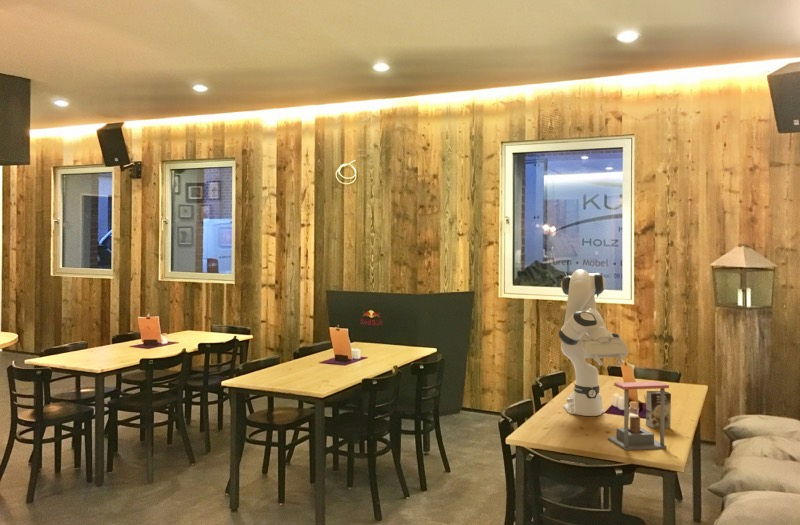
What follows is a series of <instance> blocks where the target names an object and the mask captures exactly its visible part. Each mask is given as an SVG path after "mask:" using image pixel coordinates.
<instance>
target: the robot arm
mask: <svg viewBox="0 0 800 525" xmlns="http://www.w3.org/2000/svg"><path fill="white" fill-rule="evenodd" d="M605 286H606V280H605V277H604V275H603V274H602V273H599V272H594V273H590V272H588V271H587V270H585V269H576V270H575V271H573V272H572V274H571V275H570V274H568V275H565V276H564V277H562V279H561V282H560V287H561V288H560V289H561V291H562V292H563V294H565V295H566V296H567V300H566V307H565V311H564V317H563V322H562V327H561V328H560V329H559V330H558V336H559V339H560V341H561V343H560V350H561V352H562V354H563V355H564V356H565V357H567V358H568V359H569V360H570V362H571V364H572V365H573V368H574V371H575V372H574V373H575V383H574V386H573V387H574V388H573V392H572V393H570V395H568V398H566V402H567V404H563V408H564V409H565V410H566V411H567V412H568V413H569V414H571V415H579V416H586V417H596V416H601V415H602V414H604V413H605V411H606V410H605V409H603V399H602V395H601V394H600V384H599V370H598V368H597V367H595V366H594V365H593V364H590V363H588V362H587V361H586V359H593V360H594V361H595V362H597V364H598V366H603V365H604V362H603V360H602V359H606V358H609V359H610V358H617V359H618V361H617V364H618V365H620V366H623V364H624V361H623V358H626V357H627V356H628V354H629V353H630V352H629V348H628V346H627V344H626V342H625V341H624V340H623V339H622V335H620V334H618V333H614V332H611V331H609V329H607V327H606V324H605V321H604V319H603V316H602V315H601V313H600V312H599V311H598V310H597V302H596V299H595V298H596V297H597V298H598V297H599V295H601V294H602V293H603V292H604V291H605V288H606V287H605ZM595 295H596V297H595ZM585 334H586V335H585Z"/></svg>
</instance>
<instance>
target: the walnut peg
mask: <svg viewBox="0 0 800 525" xmlns="http://www.w3.org/2000/svg"><path fill="white" fill-rule="evenodd" d="M640 427H641V417H640V416H639V415H638V416H637V415H630V416H629V428H630V433H640Z"/></svg>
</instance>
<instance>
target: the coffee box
mask: <svg viewBox="0 0 800 525" xmlns="http://www.w3.org/2000/svg"><path fill="white" fill-rule="evenodd" d="M645 396H646V399H645V406H646V407H645V425H646V426H648V427H649V428H651V429H656V428H657V429H660V390H646V395H645ZM671 405H672V394H671V393H670V392H668V391H666V390H665V410H664V429H671V415H672V414H671V413H672V412H671V410H672V406H671Z"/></svg>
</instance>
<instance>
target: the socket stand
mask: <svg viewBox="0 0 800 525" xmlns="http://www.w3.org/2000/svg"><path fill="white" fill-rule="evenodd" d="M613 386H615V387H616V388H619V389H620V390H624V393H623V394H624V395H623V396H624V397H623V398H624V402H623V403H624V411H623V413H624V414H623V417H624V418H623V419H624V420H623V422H624V426H623V427H616V430H615V433H616V434H615V435H616V436H607V441H610V442H612V443H613V444H615V445H617V446H618V447H620V448H621V449H622V450H624V451H640V450H643V451H644V450H659V449H661V450H663V449H667V445H666V444H665V428H664V410H665V391H666V390H665V389H669V388H670V384H666V383H664V382H661V381H653V380H652V381H629V382H628V381H626V382H614V384H613ZM651 389H658V390H659V389H660V390H659V391H660V428H659V430H660V431H659V436H660V437H659V440H656V439H655V434H654V433H652V432H651V431H649V430H647V429H645V428H643V427H641V426H640V433H630V427H629V402H630V401H629V399H630V398H629V396H630V395H629V392H630V391H629V390H651Z"/></svg>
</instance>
